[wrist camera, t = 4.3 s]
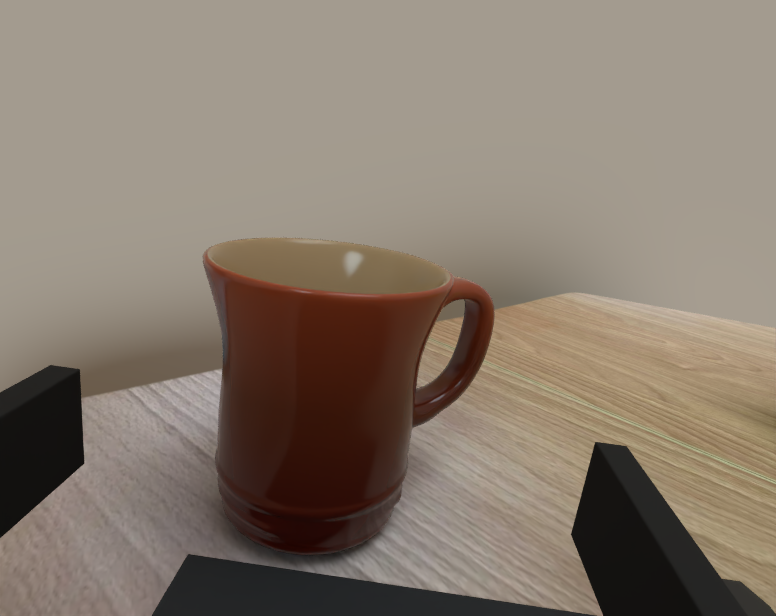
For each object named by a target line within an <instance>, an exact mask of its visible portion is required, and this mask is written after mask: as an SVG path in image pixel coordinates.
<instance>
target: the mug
mask: <svg viewBox="0 0 776 616" xmlns="http://www.w3.org/2000/svg"><path fill="white" fill-rule="evenodd" d="M203 264H204V268H205V271H206V275H207V278H208V281H209V284H210V288H211V291H212V295H213V298H214V302H215V306H216V309H217V314H218V318H219V322H220V327H221V333H222V343H223V368H222V381H221V391H220V402H219V417H218V443H217V450H216V456H215V463H216V469H217V472H218V487H219V491H220V494H221V496H222V504H223V508H224V511H225V513H226V515H227V517H228V519H229V520H230V522H231V523H232V524H233V526H234V527H235V528H236V529H237V530H238V531H239V532H240V533H242V534H243V535H244V536H246V537H247V538H249V539H250V540H252V541H254V542H256V543H258V544H260V545H262V546H264V547H267V548H269V549H272V550H276V551H279V552H284V553H289V554H296V555H322V554H329V553H335V552H339V551H343V550H346V549H350V548H352V547H355V546H357V545H359V544H361V543H363V542H365V541H367V540H368V539H370V538H371V537H373V536H374V535H375V534H376V533H378V532H379V531H380V530H381V529H382V528H383V527H384V525H385V524H386V523H387V521H388V520H389V518H390V516H391V514H392V511H393V509H394V506H395V505H396V504H397V502H398V501H399V500H400V497H401V492H402V483H403V481H404V478H405V476H406V472H407V468H408V451H409V445H410V438H411V431H412V428H414V427H416V426H419V425H421V424H424V423H426V422H427V421H429V420H430V419H432V418H433V417H435V416H436V415H437V414H439V413H440V412H441V411H443V410H444V409H445V408H447V407H448V406H449V405H451V404H452V403H453V402H454V401H456V400H457V399H458V398H459V397H460V396H461V395H462V394H463V393H464V392H465V390H466V389H467V388H468V386H469V385H470V384H471V382H472V381H473V379H474V378H475V376H476V374H477V373H478V371H479V369H480V367H481V365H482V362H483V360H484V358H485V355H486V352H487V349H488V346H489V343H490V339H491V335H492V330H493V325H494V305H493V302H492V299H491V297H490V295H489V293H488V292H487V291H486V290H485V289H484V288H483V287H481V286H479V285H478V284H476V283H474V282H472V281H470V280H467V279H464V278H460V277H453V275H452V274H451V273H450V272H449V271H447V270H446V269H444V268H443V267H441V266H439V265H437V264H435V263H433V262H430V261H427V260H425V259H422V258H419V257H416V256H413V255H409V254H405V253H401V252H397V251H392V250H388V249H383V248H378V247H372V246H367V245H360V244H354V243H346V242H338V241H329V240H318V239H303V238H252V239H241V240H234V241H228V242H224V243H220V244H217V245H214V246H212V247H210V248H208V249H207V250H206V251H205V252H204V254H203ZM459 299H464V301H465V313H464V319H463V324H462V328H461V332H460V336H459V339H458V342H457V345H456V348H455V351H454V353H453V355H452V358H451V360H450V361H449V363H448V365H447V366H446V368H445V369H444V370H443V372H442V373H441V374H440V375H439V376H438V377H437V378H436V379H435V380H433V381H432V382H430V383H429V384H427V385H425V386H423V387H420V388H417V389H416V386H417V377H418V371H419V366H420V362H421V358H422V354H423V351H424V348H425V346H426V343H427V341H428V338H429V336H430V333H431V331H432V329H433V327H434V325H435V322H436V320H437V318H438V316H439V314H440V312H441V310H442V309H443V307H445V306H446V305H448V304H449V303H451V302H453V301H455V300H459Z"/></svg>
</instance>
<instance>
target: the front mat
mask: <svg viewBox="0 0 776 616" xmlns="http://www.w3.org/2000/svg"><path fill="white" fill-rule="evenodd" d="M152 616H595V615H589V614H582V613H575V612H569V611H562V610H555V609H549V608H542V607H535V606H529V605H522V604H515V603H509V602H502V601H496V600H489V599H482V598H476V597H469V596H462V595H456V594H449V593H442V592H436V591H429V590H422V589H416V588H409V587H403V586H396V585H389V584H383V583H376V582H369V581H363V580H356V579H349V578H343V577H336V576H329V575H323V574H316V573H309V572H303V571H296V570H290V569H283V568H276V567H270V566H263V565H256V564H250V563H243V562H236V561H230V560H223V559H216V558H210V557H203V556H196V555H190V554H189V555H188V556H187V557H186V559H185V561H184V562H183V564H182V566H181V567H180V569H179V571H178V572H177V574H176V576H175V577H174V579H173V581H172V582H171V584H170V586H169V587H168V589H167V591H166V593H165V594H164V596H163V598H162V599H161V601H160V603H159V604H158V606H157V608H156V609H155V611H154V613H153V614H152Z"/></svg>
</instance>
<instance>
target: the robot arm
mask: <svg viewBox="0 0 776 616" xmlns="http://www.w3.org/2000/svg"><path fill="white" fill-rule="evenodd" d="M80 387H81V385H80V370H79V369H74V368H67V367H59V366H53V365H50V366H48V367H46V368H44V369H43V370H41V371H39V372H37V373H35V374H34V375H32V376H30V377H28V378H26V379H24V380H22V381H21V382H19V383H17V384H15V385H13V386H11V387H10V388H8V389H6V390H4V391H2V392H1V393H0V538H1V537H2V536H3V535H4V534H5V533H6V532H8V531H9V530H10V529H11V528H12V527H13V526H14V525H15V524H17V523H18V522H19V521H20V520H21V519H22V518H23V517H24V516H26V515H27V514H28V513H29V512H30V511H31V510H32V509H33V508H35V507H36V506H37V505H38V504H39V503H40V502H41V501H42V500H44V499H45V498H46V497H47V496H48V495H49V494H50V493H51V492H53V491H54V490H55V489H56V488H57V487H58V486H59V485H60V484H62V483H63V482H64V481H65V480H66V479H67V478H68V477H69V476H71V475H72V474H73V473H74V472H75V471H76V470H77V469H78V468H80V467H81V466H82V465H83V464H84V448H83V427H82V406H81V388H80ZM571 535H572V538H573V541H574V543H575V546H576V548H577V551H578V553H579V556H580V558H581V561H582V563H583V566H584V568H585V571H586V573H587V576H588V578H589V581H590V583H591V586H592V588H593V591H594V593H595V596H596V598H597V601H598V603H599V606H600V608H601V611H602V613H603V616H776V614H775V613H774V611H773V610H772V609H771V607H770V606H769V605H768V604H766V603H765V602H764V601H763V600H762V599H761V598H759V597H758V596H757V595H756V594H755V593H753V592H752V591H751V590H750V589H749V588H747V587H746V586H745V585H744V584H743V583H742V582H740V581H733V580H726V579H721V577H720V576H719V575H718V573H717V572H716V570H715V569H714V568H713V566H712V565H711V564H710V562H709V561H708V559H707V558H706V557H705V555H704V554H703V552H702V551H701V550H700V548H699V547H698V545H697V544H696V543H695V541H694V540H693V538H692V537H691V536H690V534H689V533H688V531H687V530H686V529H685V527H684V526H683V524H682V523H681V522H680V520H679V519H678V517H677V516H676V515H675V513H674V512H673V510H672V509H671V508H670V506H669V505H668V504H667V502H666V501H665V499H664V498H663V497H662V495H661V494H660V492H659V491H658V490H657V488H656V487H655V485H654V484H653V483H652V481H651V480H650V478H649V477H648V476H647V474H646V473H645V471H644V470H643V469H642V467H641V466H640V464H639V463H638V462H637V460H636V459H635V457H634V456H633V455H632V453H631V452H630V451H629V449H628V448H627V446H621V445H614V444H607V443H600V442H595V445H594V449H593V453H592V457H591V461H590V465H589V468H588V472H587V476H586V480H585V484H584V487H583V491H582V495H581V499H580V503H579V506H578V510H577V514H576V518H575V522H574V526H573V529H572V533H571Z"/></svg>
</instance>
